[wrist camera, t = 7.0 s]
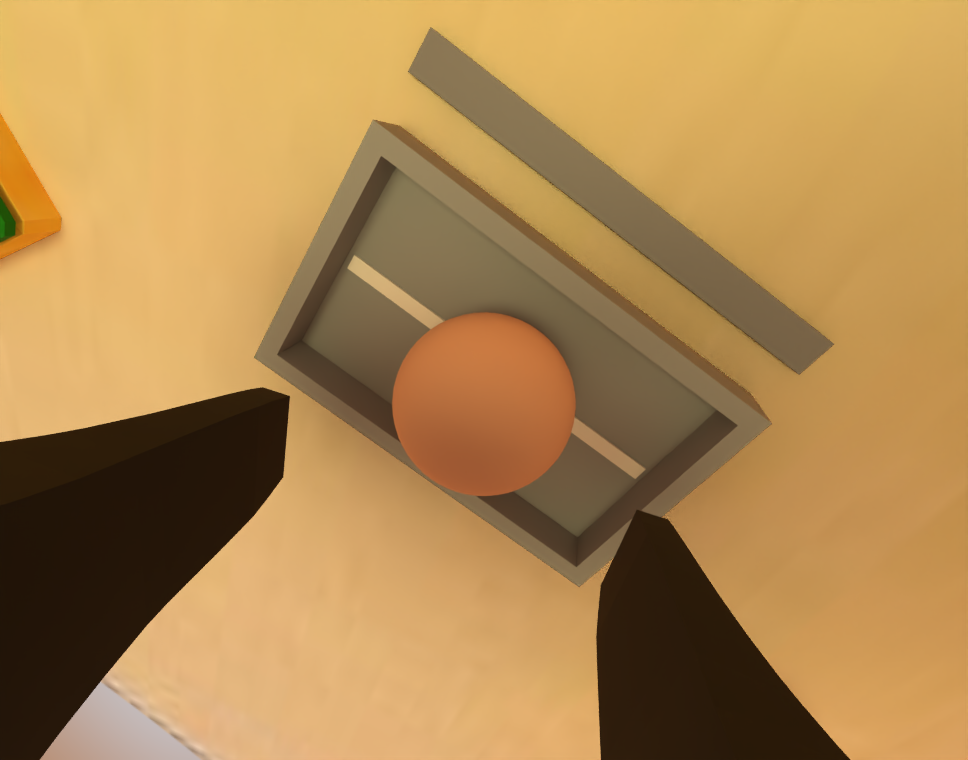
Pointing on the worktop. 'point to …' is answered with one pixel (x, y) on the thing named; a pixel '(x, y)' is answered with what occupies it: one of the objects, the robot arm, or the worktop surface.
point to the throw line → (615, 202)
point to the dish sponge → (21, 199)
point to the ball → (483, 404)
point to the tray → (517, 293)
